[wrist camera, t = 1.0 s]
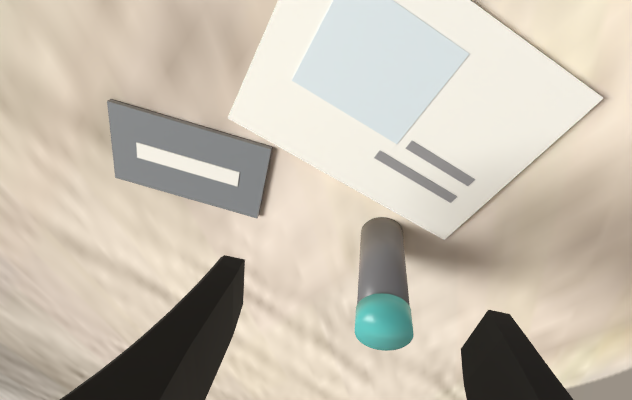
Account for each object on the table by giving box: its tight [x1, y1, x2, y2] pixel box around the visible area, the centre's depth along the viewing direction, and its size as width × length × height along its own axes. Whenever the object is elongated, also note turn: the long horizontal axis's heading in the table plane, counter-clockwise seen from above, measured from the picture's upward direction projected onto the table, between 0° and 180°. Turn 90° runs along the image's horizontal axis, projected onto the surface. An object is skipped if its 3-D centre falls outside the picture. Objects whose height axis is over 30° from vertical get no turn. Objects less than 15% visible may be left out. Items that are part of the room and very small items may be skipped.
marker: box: [355, 217, 413, 350], centre depth 19 cm, size 3×3×7 cm
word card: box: [107, 99, 272, 218], centre depth 20 cm, size 9×5×1 cm, turn 75°
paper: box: [228, 0, 603, 240], centre depth 17 cm, size 14×10×1 cm
